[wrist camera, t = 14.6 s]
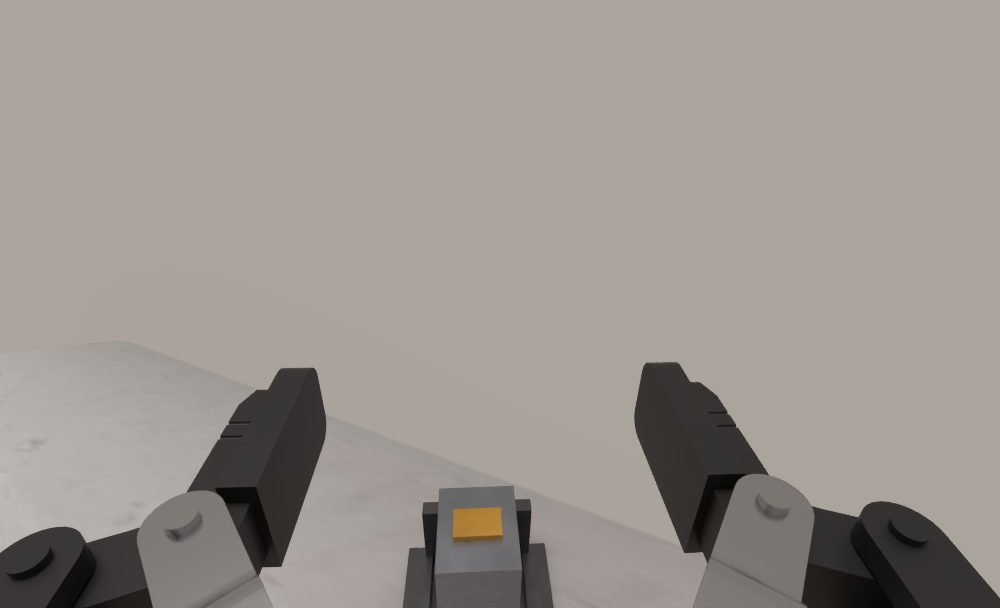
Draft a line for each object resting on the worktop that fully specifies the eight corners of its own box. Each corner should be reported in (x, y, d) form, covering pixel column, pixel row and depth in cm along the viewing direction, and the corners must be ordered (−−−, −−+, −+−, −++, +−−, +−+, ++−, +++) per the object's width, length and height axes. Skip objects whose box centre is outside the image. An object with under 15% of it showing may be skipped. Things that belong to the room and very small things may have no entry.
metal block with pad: (516, 661, 34) (522, 565, 29) (441, 665, 34) (434, 569, 29) (509, 575, 39) (513, 481, 34) (444, 578, 39) (439, 484, 34)
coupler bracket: (565, 703, 32) (574, 648, 29) (392, 712, 32) (381, 657, 29) (543, 547, 42) (548, 493, 39) (410, 552, 41) (404, 497, 38)
